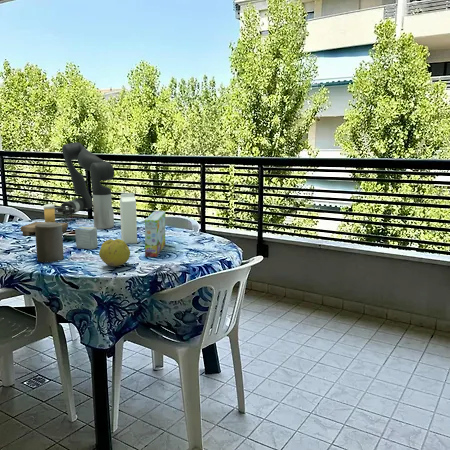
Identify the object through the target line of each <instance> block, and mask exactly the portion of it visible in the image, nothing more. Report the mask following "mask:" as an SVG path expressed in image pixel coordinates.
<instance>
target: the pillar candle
mask: <svg viewBox="0 0 450 450" xmlns="http://www.w3.org/2000/svg"><path fill="white" fill-rule="evenodd" d="M47 222H48V221H47ZM61 223H62V222H56V221H55V222H48V223H39V224H36V225H35V233H34V234H35V247H36V261H37V262H40V263H54V262H53V261H56V262H59V261H58V260H60V261H62V260H63V259H64V240H63V239H64V237H63V233H62V224H61Z"/></svg>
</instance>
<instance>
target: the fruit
mask: <svg viewBox="0 0 450 450" xmlns="http://www.w3.org/2000/svg"><path fill="white" fill-rule="evenodd" d="M98 255H99V258H100V260H102V262H103V263H104V264H106V265H107V266H110V267H119V266H122V265H124V264H126V263H127V262H128V260H129V259H130V255H131V251H130V247H129V246H128V244H126V243H125V242H124V241H123V240H121V239H120V238H115V239H111V238H110V239H108V240H105V241H103V243H102V244H101V246H100V249H99V252H98Z"/></svg>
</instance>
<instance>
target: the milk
mask: <svg viewBox="0 0 450 450" xmlns="http://www.w3.org/2000/svg"><path fill="white" fill-rule="evenodd" d="M119 210H120V211H119V214H120V217H119V218H120V234H121V235H120V236H121V237H120V238H121V239H120V240H123V241H124V242H125V243H126V245H129V244H137V243H138V227H137V225H138V224H137V223H138V222H137V201H136V196H135V193H134V192H129V193H126V192H124V193H120V198H119Z"/></svg>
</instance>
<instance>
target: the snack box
mask: <svg viewBox="0 0 450 450" xmlns="http://www.w3.org/2000/svg"><path fill="white" fill-rule="evenodd" d="M165 246H166V211H164V210H163V211H162V210H160V211H157V210H156V211H153V212H151V214H150V215H148V217H146V218H145V219H144V257H150V258H151V257H152V258H155V257H156V258H158V256H159V255H160V253H161V251H162V250H164V247H165Z"/></svg>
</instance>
